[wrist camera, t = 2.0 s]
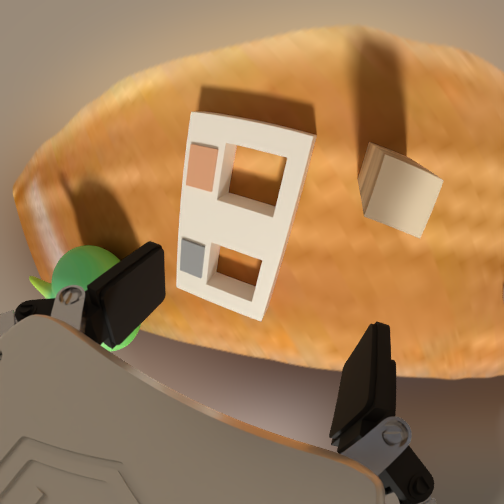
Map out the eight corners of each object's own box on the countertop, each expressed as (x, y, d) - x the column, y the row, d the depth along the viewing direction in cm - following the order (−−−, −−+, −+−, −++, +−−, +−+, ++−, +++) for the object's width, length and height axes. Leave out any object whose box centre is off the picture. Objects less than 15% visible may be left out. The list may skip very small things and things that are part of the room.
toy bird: (171, 324, 44) (121, 385, 32) (111, 312, 51) (66, 356, 38) (135, 227, 37) (59, 279, 25) (77, 233, 43) (18, 271, 31)
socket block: (316, 135, 24) (312, 136, 21) (268, 306, 35) (260, 323, 32) (205, 111, 26) (189, 111, 23) (187, 275, 37) (175, 288, 35)
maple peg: (406, 156, 22) (443, 180, 12) (394, 193, 24) (419, 238, 14) (369, 141, 22) (385, 154, 13) (357, 179, 24) (364, 216, 15)
